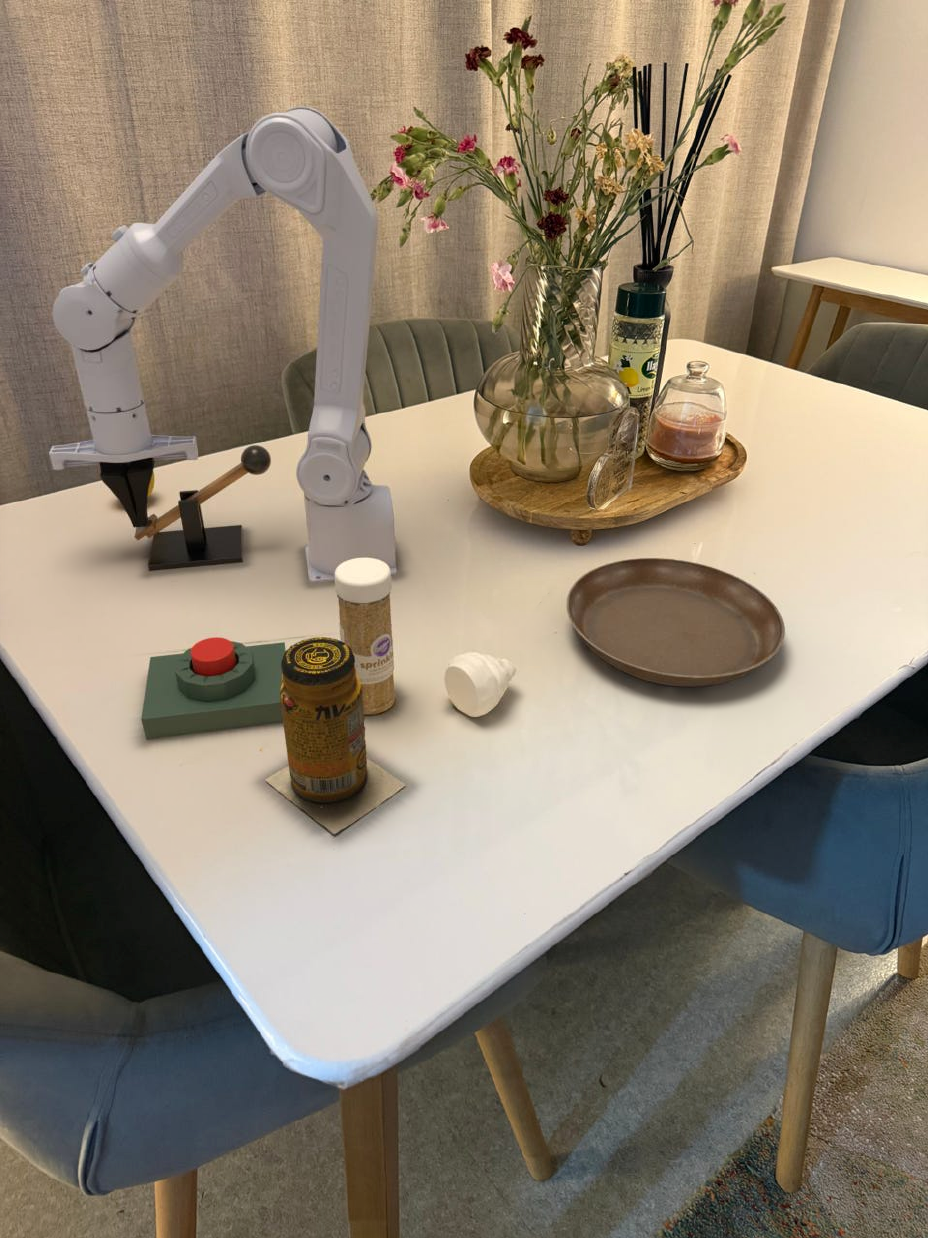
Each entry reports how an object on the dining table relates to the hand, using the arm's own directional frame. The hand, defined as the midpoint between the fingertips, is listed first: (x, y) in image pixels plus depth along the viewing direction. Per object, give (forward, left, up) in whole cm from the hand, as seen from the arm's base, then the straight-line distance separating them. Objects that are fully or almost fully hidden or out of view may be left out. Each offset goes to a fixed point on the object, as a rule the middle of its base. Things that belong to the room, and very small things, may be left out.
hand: (140, 523), depth 98 cm
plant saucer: (-52, +27, -4) cm, 58 cm away
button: (-9, +28, -1) cm, 29 cm away
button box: (-9, +28, -4) cm, 30 cm away
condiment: (-18, +41, -4) cm, 45 cm away
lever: (-8, 0, +1) cm, 8 cm away
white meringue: (-32, +33, -4) cm, 46 cm away
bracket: (-6, 0, -4) cm, 7 cm away
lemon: (+2, -14, -4) cm, 15 cm away
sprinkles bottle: (-22, +31, -4) cm, 38 cm away
